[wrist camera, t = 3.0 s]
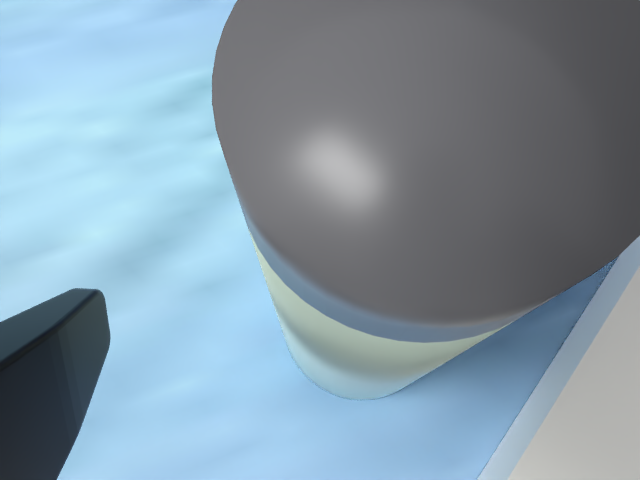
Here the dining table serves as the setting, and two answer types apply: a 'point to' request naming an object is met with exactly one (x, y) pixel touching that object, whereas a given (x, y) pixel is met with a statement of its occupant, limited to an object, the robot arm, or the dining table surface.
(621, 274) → the housing
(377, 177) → the capped bottle
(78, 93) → the dining table surface
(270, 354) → the dining table surface
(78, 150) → the dining table surface
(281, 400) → the dining table surface
